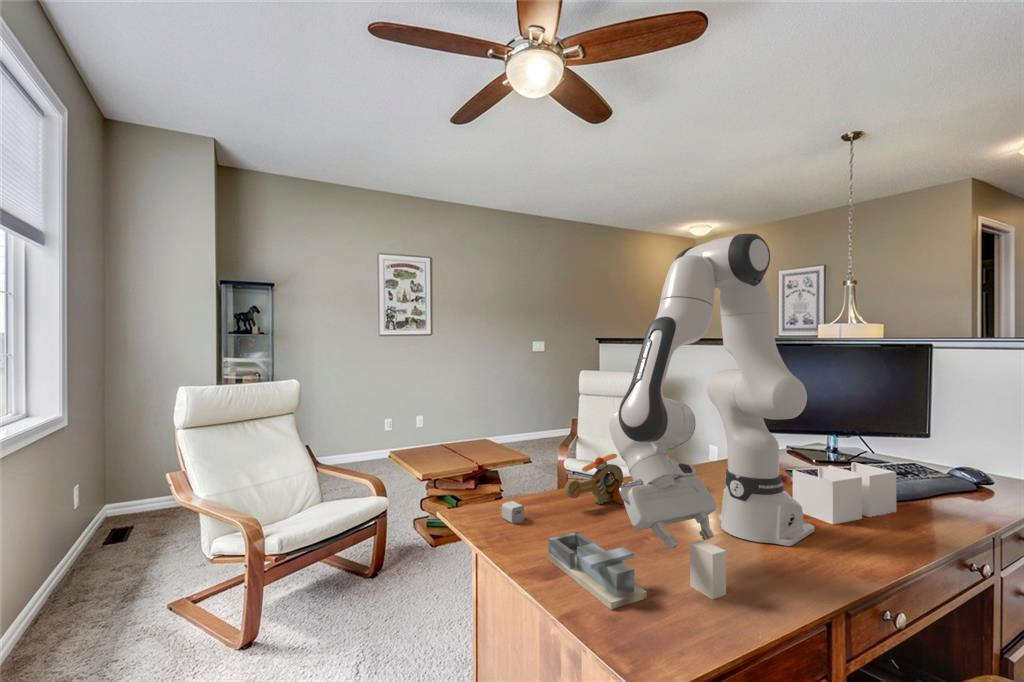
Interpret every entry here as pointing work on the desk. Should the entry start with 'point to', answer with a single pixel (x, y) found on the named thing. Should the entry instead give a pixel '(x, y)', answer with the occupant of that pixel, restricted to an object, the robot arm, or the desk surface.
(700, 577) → the cream upright slab block
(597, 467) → the toy helicopter
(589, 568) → the jig
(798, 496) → the storage container
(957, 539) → the desk surface
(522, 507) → the usb wall charger
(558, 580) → the desk surface
